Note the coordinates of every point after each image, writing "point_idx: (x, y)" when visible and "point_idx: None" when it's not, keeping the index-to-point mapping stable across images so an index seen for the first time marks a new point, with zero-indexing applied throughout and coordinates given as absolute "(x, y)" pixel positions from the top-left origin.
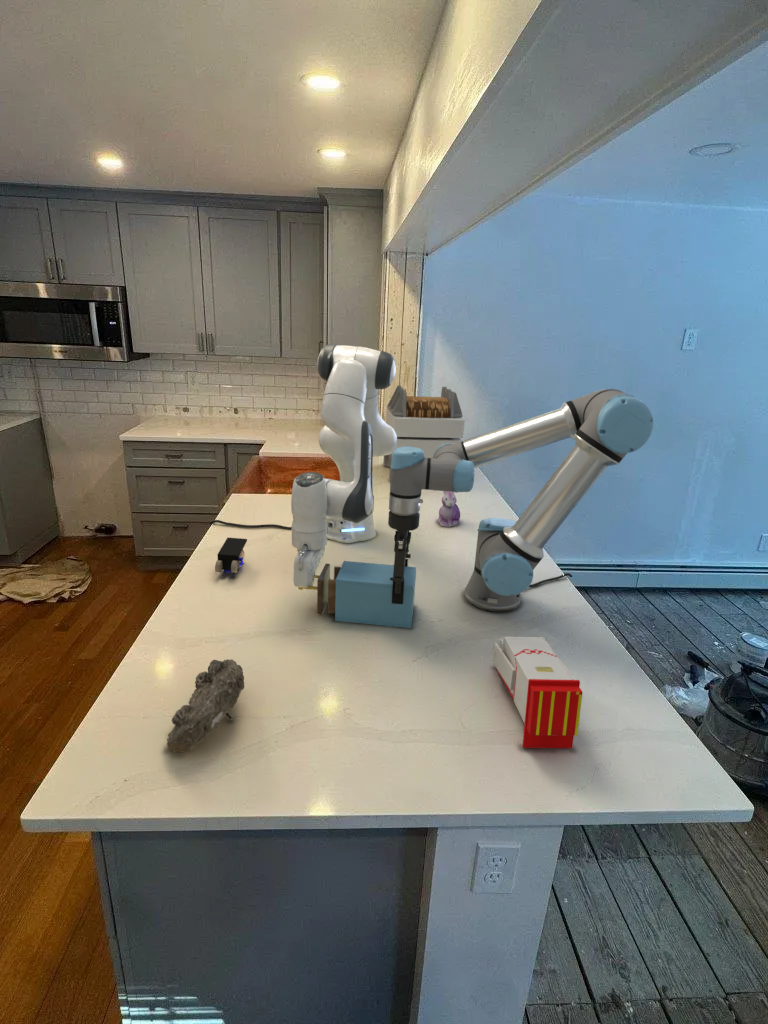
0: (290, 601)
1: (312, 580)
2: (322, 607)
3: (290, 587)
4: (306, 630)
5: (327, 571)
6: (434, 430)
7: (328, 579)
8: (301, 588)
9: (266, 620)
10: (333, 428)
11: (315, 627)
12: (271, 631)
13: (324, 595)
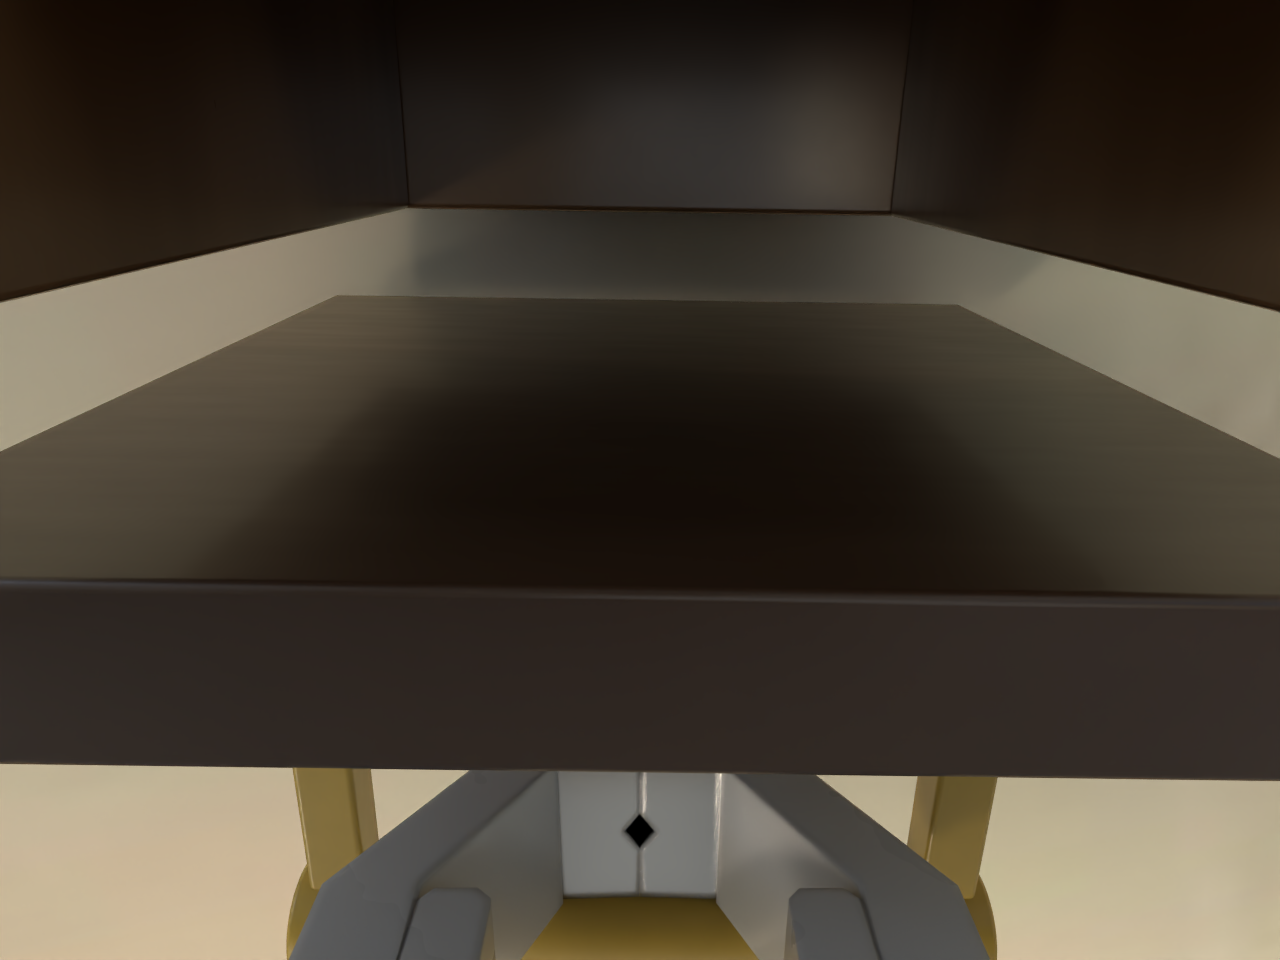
0: None
1: (610, 776)
2: (951, 324)
3: (181, 853)
4: (1268, 438)
5: (395, 534)
6: None
7: (322, 399)
8: (976, 894)
9: (1015, 904)
10: None
11: (1195, 334)
12: (1258, 808)
13: (816, 356)
